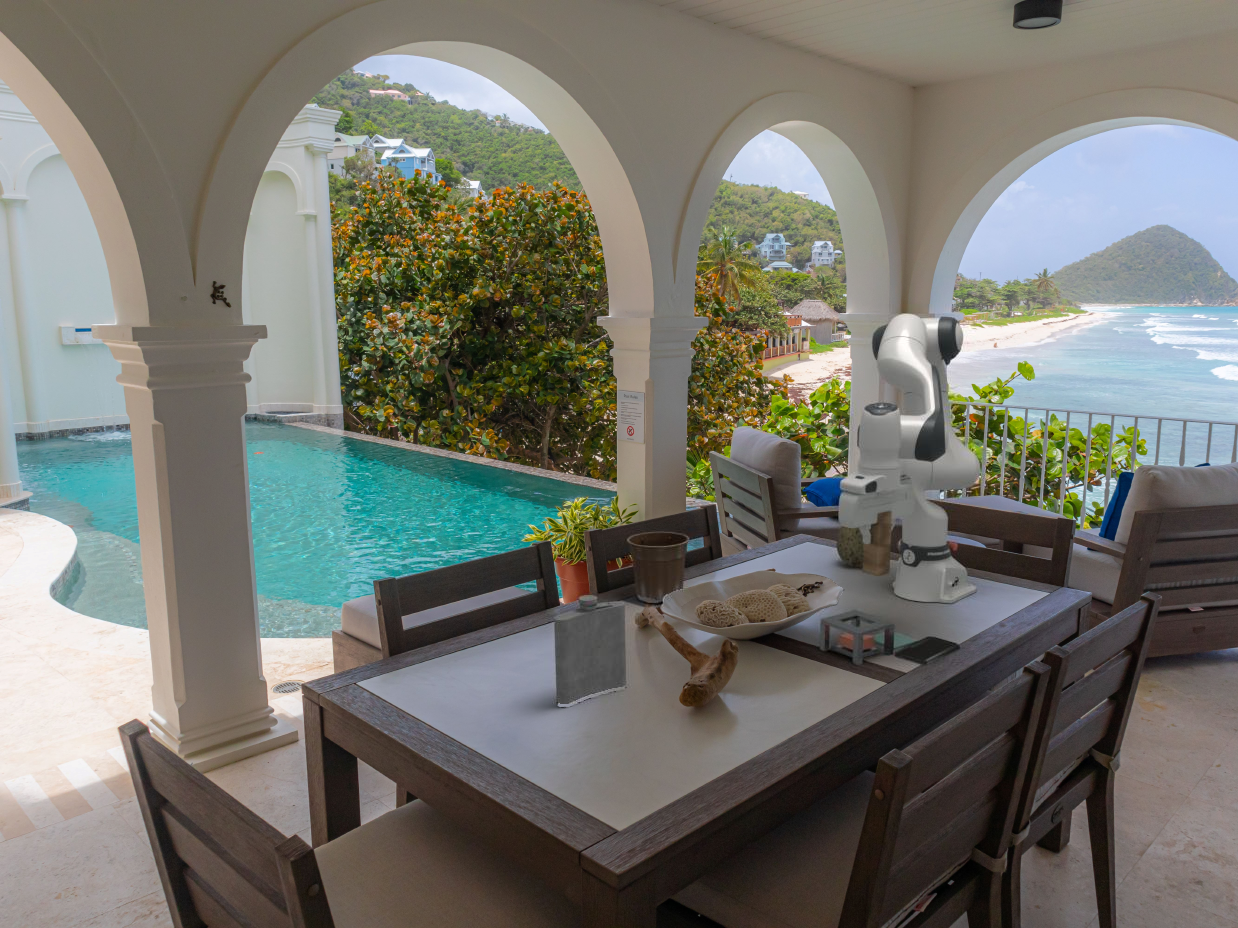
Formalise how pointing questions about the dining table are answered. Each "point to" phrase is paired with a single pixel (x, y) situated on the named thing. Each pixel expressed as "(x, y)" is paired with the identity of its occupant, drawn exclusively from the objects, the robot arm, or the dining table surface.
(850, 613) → the frame
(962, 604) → the dining table surface
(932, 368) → the robot arm
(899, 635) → the mat
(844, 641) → the salmon pink panel
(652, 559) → the plant pot
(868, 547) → the peg
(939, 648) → the phone
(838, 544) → the decorative egg
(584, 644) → the hip flask
